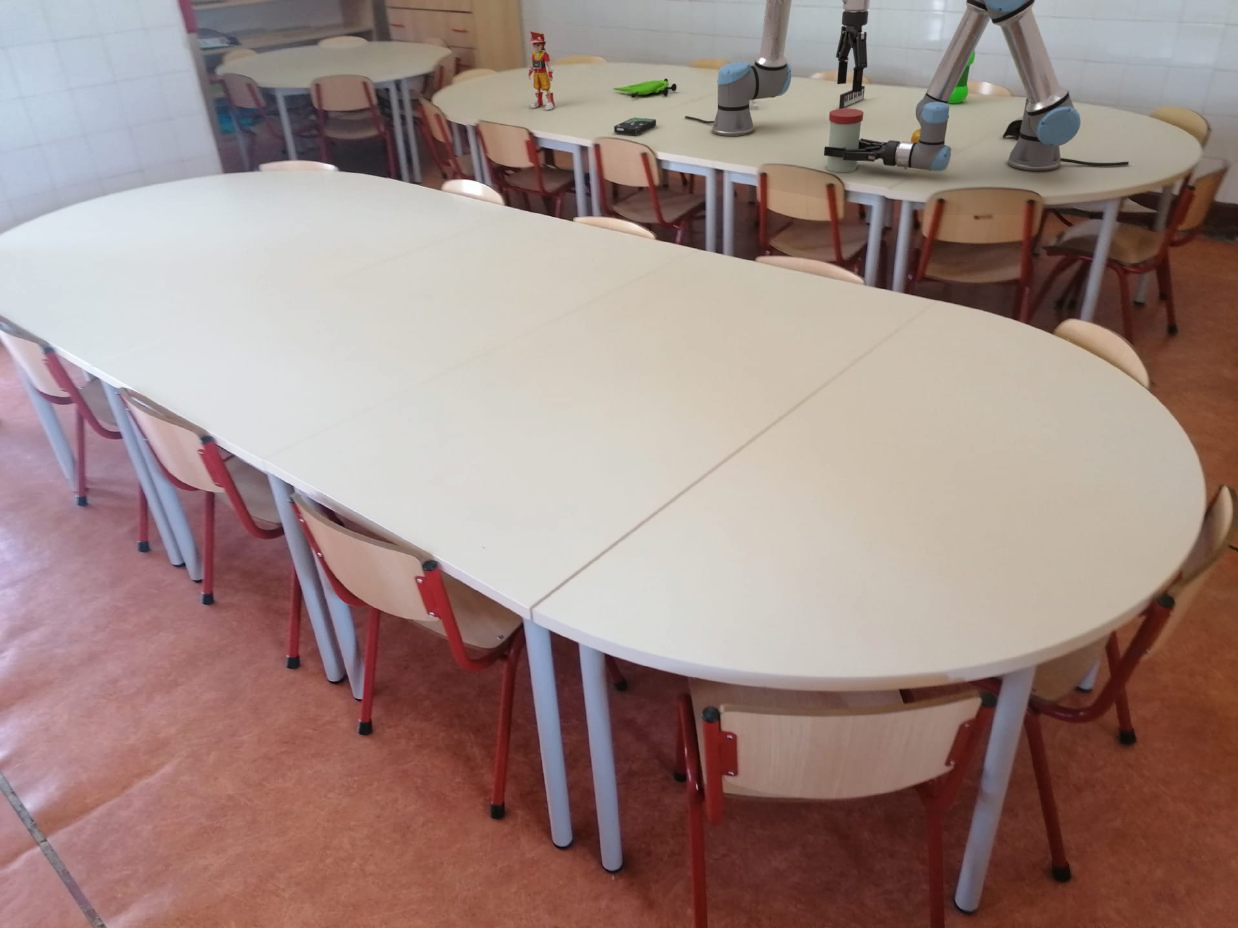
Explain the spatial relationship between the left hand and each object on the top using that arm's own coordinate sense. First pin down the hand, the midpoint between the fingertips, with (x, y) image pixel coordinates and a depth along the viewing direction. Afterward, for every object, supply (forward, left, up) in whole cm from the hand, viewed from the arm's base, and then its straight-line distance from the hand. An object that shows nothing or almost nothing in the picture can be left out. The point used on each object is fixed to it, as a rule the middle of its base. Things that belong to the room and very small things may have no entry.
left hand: (848, 87), depth 279 cm
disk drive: (-88, +18, -25) cm, 94 cm away
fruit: (+19, +28, -25) cm, 42 cm away
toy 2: (-118, +75, -25) cm, 141 cm away
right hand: (-5, 0, -18) cm, 19 cm away
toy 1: (-145, +37, -25) cm, 151 cm away
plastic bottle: (+12, +97, -25) cm, 101 cm away
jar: (0, 0, -25) cm, 25 cm away
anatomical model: (-64, +65, -25) cm, 95 cm away
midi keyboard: (-24, +82, -25) cm, 89 cm away
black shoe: (+48, +65, -25) cm, 85 cm away
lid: (0, 0, -8) cm, 8 cm away
